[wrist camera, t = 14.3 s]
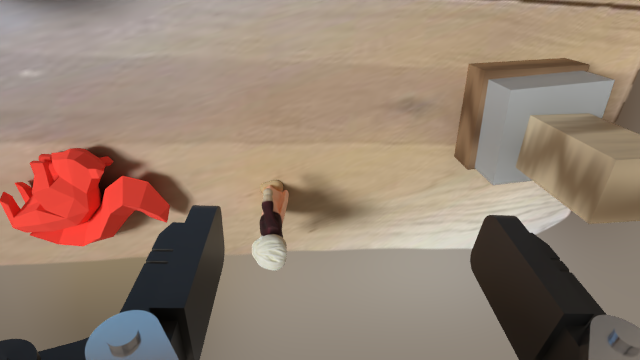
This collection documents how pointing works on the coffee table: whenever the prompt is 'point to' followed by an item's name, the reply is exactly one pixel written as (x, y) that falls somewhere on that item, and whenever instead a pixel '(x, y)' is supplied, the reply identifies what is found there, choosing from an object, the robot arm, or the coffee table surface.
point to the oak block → (584, 165)
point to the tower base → (478, 89)
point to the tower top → (531, 99)
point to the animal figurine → (78, 200)
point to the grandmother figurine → (271, 227)
